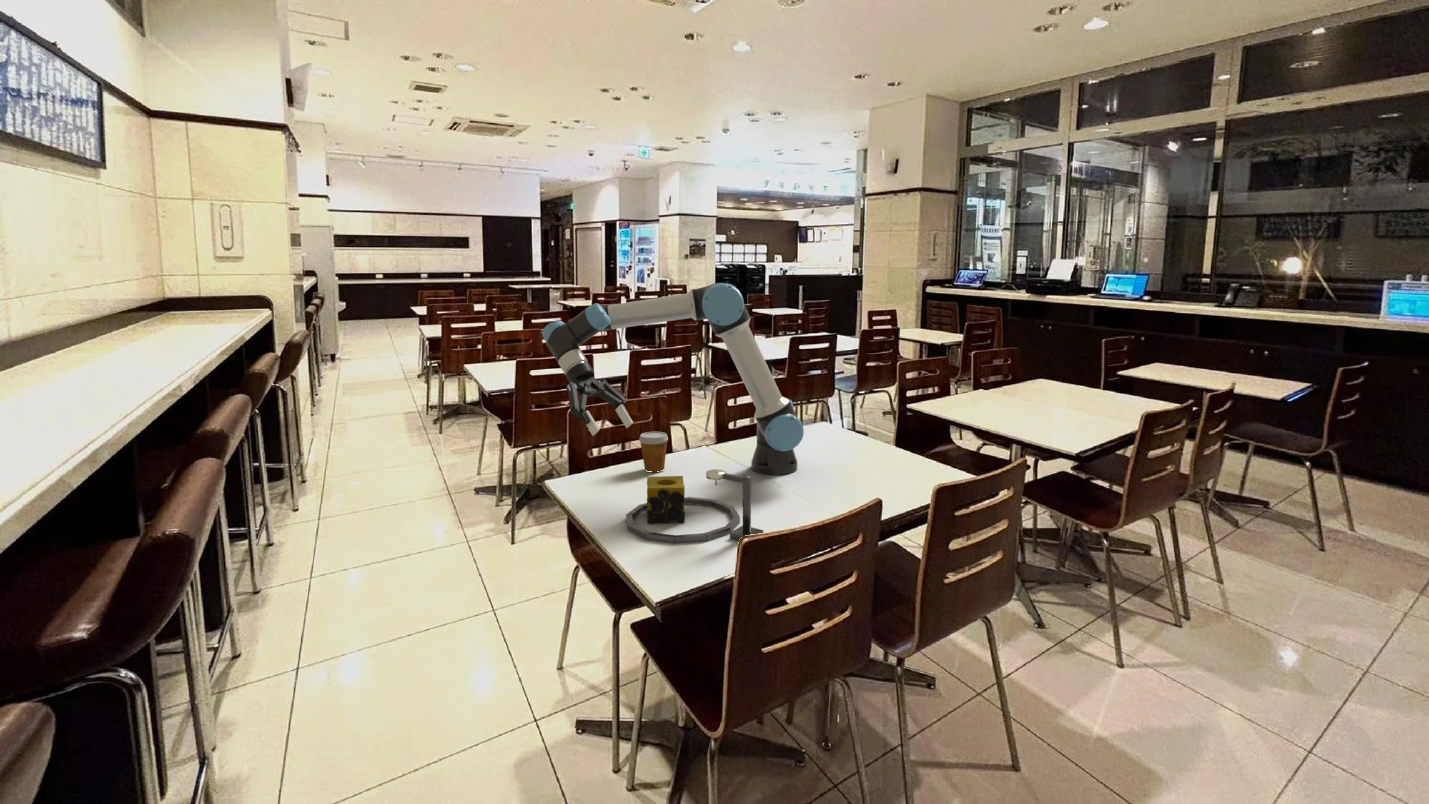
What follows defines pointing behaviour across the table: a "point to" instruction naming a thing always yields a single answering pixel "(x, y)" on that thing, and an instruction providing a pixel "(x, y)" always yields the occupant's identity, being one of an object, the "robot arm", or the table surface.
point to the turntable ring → (687, 537)
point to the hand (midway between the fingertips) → (613, 429)
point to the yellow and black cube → (665, 500)
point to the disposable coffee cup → (654, 450)
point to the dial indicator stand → (746, 481)
